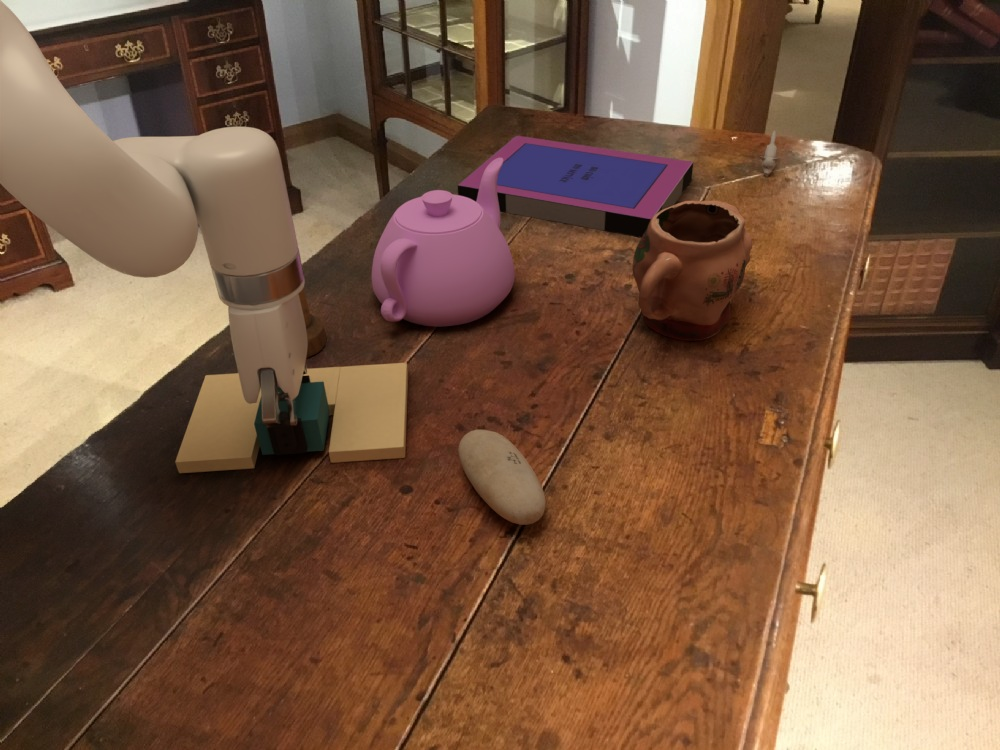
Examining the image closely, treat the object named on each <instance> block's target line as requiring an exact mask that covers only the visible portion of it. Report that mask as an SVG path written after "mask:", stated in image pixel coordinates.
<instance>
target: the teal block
mask: <svg viewBox="0 0 1000 750" xmlns="http://www.w3.org/2000/svg"><path fill="white" fill-rule="evenodd" d="M278 392H283V390H282V389H281V388H278ZM295 404H296V412H297V418H301V420H302V424H303V429H304V433H305V438H306V442H307V446H308V448H307V452H306V453H309V452H324V451H325V447H326V446H325V445H326V440H327V433H328V426H329V420H330V415H329V413H330V411H329V406H328V401H327V396H326V391H325V386H324V382H308V383H301V386H300V390H299V394H298V396H297V397H296V398H295ZM278 407H279V410H280V411H285V412H288V407H287V401H279V402H278ZM254 426H255V429H256V433H257V437H258V440H259V444H260V447H259V449H260V451H261V455H262V456H265V455H267V456H268V455H275V454H274V452H273V448H272V444H271V440H270V437H269V433H268V429H267V427H266V424H263V421H262V404H261V398H260V402H259V406H258V410H257V414H256V418H255V422H254Z"/></svg>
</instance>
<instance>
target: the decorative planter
mask: <svg viewBox="0 0 1000 750" xmlns="http://www.w3.org/2000/svg"><path fill="white" fill-rule="evenodd" d="M745 226H746V220H745V217H744V216H742V215H741V212H740V211H739V208H737V207H736V206H734V205H732V204H730V203H727V202H725V201H720V200H685V201H682V202H679V203H675V204H674V205H673V206H671V207H668V208H666V209H663V210H661V211H660V212H658V213H657V214H656V215H655V216H654V217H653V218H652V219H651V221H650V222H649V224H648V227H647V230H646V231H645V233H644V235H643V236H642V237H640V240H639V241H638V243H637V245H636V247H635V249H634V250H635V251H634V255H633V259H632V275H633V278H634V281H635V284H636V286H637V290H638V292H639V293H638V308H639V309H640V313H641V316H642V318H643V321H644V322H645V324H646V325H647V326H648V327H649V328H650V329H652V330H653V331H655V332H656V333H658V334H661V335H662V336H665V337H668V338H671V339H675V340H678V341H686V342H687V341H689V342H692V341H693V342H694V341H696V342H697V341H702V340H703V341H704V340H706V339H709V338H712V337H713V336H715V335H716V334H718V333H719V332H720V331H721V330H722V329H723V328H724V327H725V325H726V324H727V323H728V322H729V321H730V317H731V300H733V298H734V296H735V295H736V294H737V293H738V291H739V290H740V288H741V287H742V284H743V282H744V278H745V274H746V273H745V272H746V267H747V266H748V264H749V262H750V261H751V256H750V255H751V251H752V249H753V240H752V238H751V236H750V234H749V232H748V231H747V230H746V227H745Z"/></svg>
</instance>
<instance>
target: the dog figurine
mask: <svg viewBox="0 0 1000 750" xmlns="http://www.w3.org/2000/svg"><path fill="white" fill-rule="evenodd" d="M776 140H777V131H776V130H773V131H772V133H771V136H770V143H769V144H767V146H766V147H765V151H764V155H763V156H760V155H759V156H758V158H760V159H761V160H762V162H761V169H762V171H763V174H764V176H765V177H766V178H768V176H769V175H770V174H771V173H772V171H774V169H775V168H776V165H777V164H776V162H777V161H779V160H780V159H781V158H780V157H777V150H778V148H777V144H775V143H776Z"/></svg>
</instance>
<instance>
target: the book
mask: <svg viewBox="0 0 1000 750" xmlns="http://www.w3.org/2000/svg"><path fill="white" fill-rule="evenodd" d="M497 158H503V164H502V167H501V169H500V172H499V174H498V179H497V196H498V202H499V208H500V213H501V212H502V213H507V214H513V215H519V216H523V217H529V218H535V219H540V220H546V221H551V222H555V223H562V224H567V225H572V226H577V227H583V228H589V229H594V230H600V231H606V232H611V233H616V234H620V235H621V234H622V235H627V236H632V237H638V238H642V236H643V235H644V233H645V231H646V230H647V227H648V224H649V222H650V221H651V219H652V218H653V217H654V216H655V215H656V214H657V213H658V212H660V211H661V210H663V209H666V208H668V207H671V206H673V205H676V204H677V202H678V201H679V199H680V197H681V196H682V195H683V193H684V192H685V190H686V189H687V187H688V186H689V184H690V183H691V182H692V180H693V179H692V178H693V170H694V161H692V160H685V159H679V158H672V157H671V158H670V157H664V156H657V155H651V154H643V153H638V152H637V153H636V152H629V151H623V150H617V149H610V148H602V147H596V146H589V145H583V144H576V143H571V142H563V141H555V140H550V139H542V138H536V137H529V136H522V135H515V136H514V137H513V138H511V139H510V140H509V141H508V142H507V143H506V144H504V145H503V146H502V147H501V148H499V149H498V150H497V151H496V152H495V153H494V154H493V155H491V156H490V157H488V159H486V160H485V161H484V162H483V163H482V164H481V165H479V166H478V167H477V168H476V169H474V170H473V171H472V172H471V173H470V174H469V175H467V177H465V178H464V179H463V180H462V181H460V182H459V183H458V184H457V195H459V196H464V197H467V198H470V199H472V200H474V201H475V202H476V201H477V196H478V192H479V187H480V183H481V179H482V176H483V173H484V171H485V169H486V167H487V166H488V165H489V164H490V163H491V162H492V161H493V160H495V159H497Z"/></svg>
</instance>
